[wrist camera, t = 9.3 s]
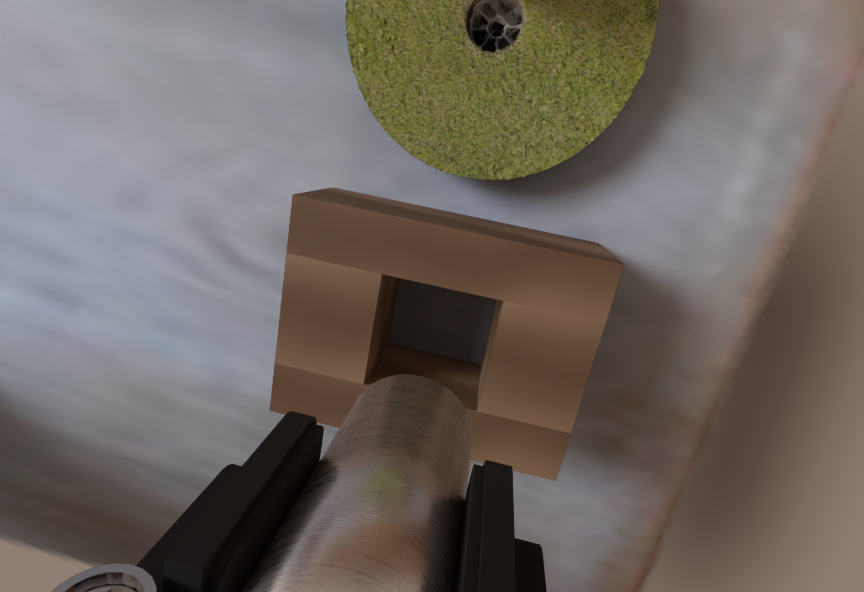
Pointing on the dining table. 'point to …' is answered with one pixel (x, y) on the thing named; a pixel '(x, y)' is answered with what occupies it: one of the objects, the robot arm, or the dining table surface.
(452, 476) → the long pin
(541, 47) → the mat
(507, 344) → the hole block
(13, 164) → the dining table surface
